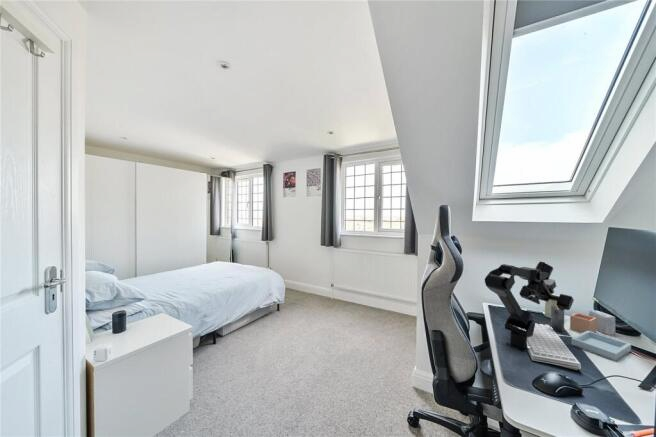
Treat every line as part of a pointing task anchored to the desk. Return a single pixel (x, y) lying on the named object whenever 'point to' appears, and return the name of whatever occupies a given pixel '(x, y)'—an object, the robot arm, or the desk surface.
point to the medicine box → (604, 322)
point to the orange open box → (582, 323)
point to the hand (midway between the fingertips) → (550, 306)
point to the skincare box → (549, 307)
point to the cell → (557, 319)
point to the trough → (601, 345)
